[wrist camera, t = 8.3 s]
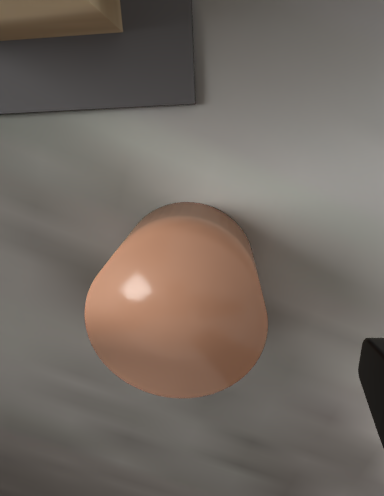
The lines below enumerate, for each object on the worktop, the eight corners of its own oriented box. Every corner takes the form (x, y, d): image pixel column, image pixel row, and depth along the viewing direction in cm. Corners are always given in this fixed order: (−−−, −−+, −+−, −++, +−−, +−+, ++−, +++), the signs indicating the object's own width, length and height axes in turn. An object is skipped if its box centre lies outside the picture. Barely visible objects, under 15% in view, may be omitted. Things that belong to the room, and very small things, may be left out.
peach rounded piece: (252, 321, 13) (264, 400, 9) (131, 320, 14) (98, 396, 10) (254, 200, 12) (271, 238, 8) (117, 203, 12) (70, 241, 8)
